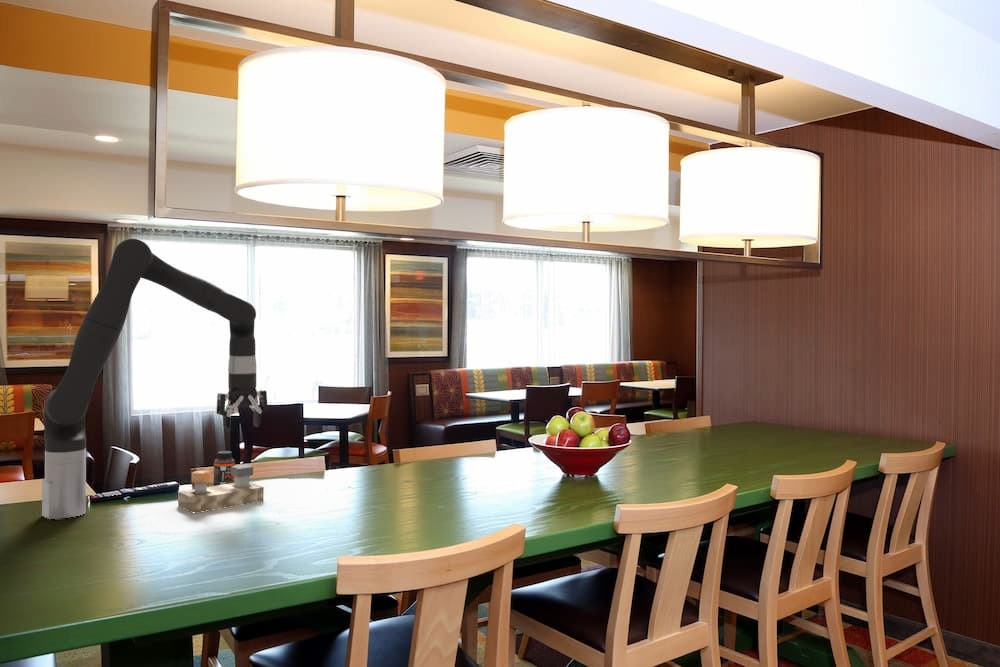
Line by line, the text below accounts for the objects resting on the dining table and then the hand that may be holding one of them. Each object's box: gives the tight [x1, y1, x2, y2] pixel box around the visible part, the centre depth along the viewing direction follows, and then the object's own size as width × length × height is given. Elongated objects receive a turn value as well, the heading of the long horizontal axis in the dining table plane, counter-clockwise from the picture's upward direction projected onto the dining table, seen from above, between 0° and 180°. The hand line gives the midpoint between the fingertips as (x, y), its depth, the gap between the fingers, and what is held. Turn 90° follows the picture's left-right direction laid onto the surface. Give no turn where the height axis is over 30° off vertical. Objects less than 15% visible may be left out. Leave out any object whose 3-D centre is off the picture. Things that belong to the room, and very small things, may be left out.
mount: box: [177, 481, 265, 513], centre depth 208 cm, size 20×10×4 cm, turn 136°
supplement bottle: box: [213, 450, 236, 486], centre depth 224 cm, size 6×6×11 cm
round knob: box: [191, 470, 211, 496], centre depth 203 cm, size 5×5×6 cm
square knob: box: [231, 463, 254, 489], centre depth 212 cm, size 4×4×6 cm
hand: (242, 428), depth 212 cm, fingers open, 8 cm apart
